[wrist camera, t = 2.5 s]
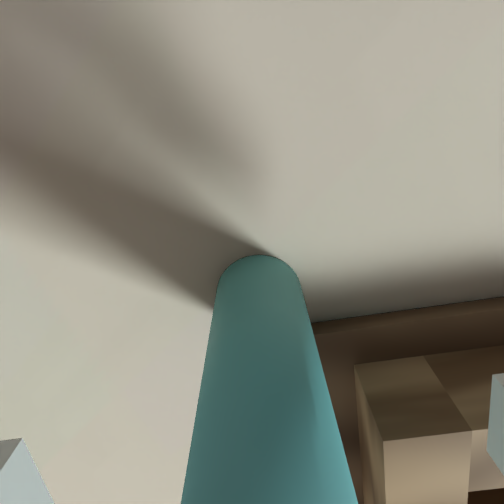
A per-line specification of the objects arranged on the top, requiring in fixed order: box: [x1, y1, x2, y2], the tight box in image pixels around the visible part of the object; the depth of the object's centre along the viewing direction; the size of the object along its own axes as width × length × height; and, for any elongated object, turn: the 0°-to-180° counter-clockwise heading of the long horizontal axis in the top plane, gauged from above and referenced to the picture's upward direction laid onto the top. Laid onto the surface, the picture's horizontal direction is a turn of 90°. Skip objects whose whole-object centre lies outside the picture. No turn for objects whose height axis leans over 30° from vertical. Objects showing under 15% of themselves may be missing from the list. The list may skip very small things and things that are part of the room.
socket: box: [311, 297, 504, 504], centre depth 19 cm, size 16×16×6 cm
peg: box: [181, 255, 358, 504], centre depth 13 cm, size 4×4×12 cm
